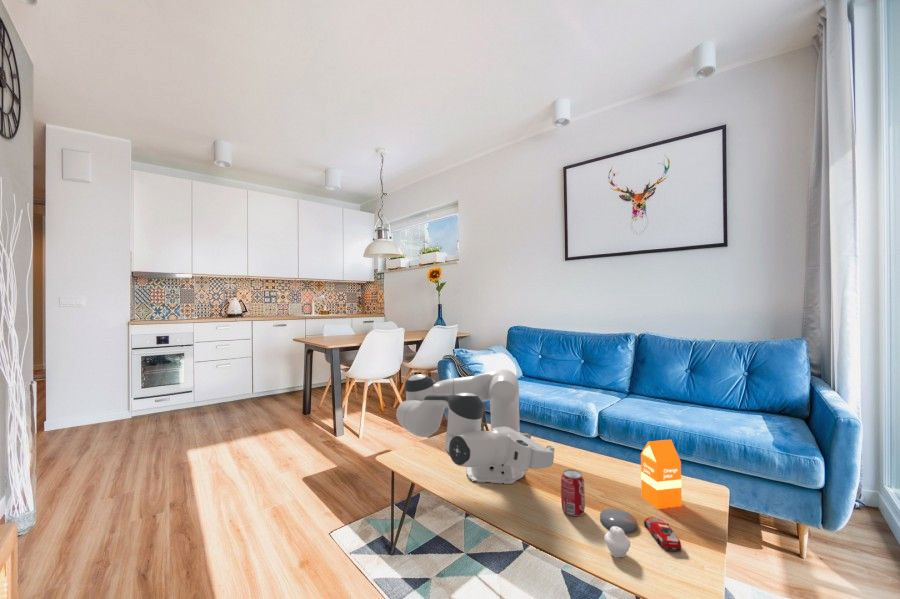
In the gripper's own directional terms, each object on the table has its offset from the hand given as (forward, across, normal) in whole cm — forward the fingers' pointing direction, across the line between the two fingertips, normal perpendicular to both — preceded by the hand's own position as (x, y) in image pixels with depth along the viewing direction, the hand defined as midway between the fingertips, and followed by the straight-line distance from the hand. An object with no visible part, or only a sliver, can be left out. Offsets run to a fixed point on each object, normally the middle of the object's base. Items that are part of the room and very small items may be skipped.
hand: (540, 443), depth 109 cm
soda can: (+18, +2, -22) cm, 29 cm away
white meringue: (+11, +21, -22) cm, 32 cm away
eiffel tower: (+29, -61, -26) cm, 72 cm away
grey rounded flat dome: (+24, +13, -20) cm, 34 cm away
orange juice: (+46, +13, -17) cm, 51 cm away
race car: (+28, +23, -19) cm, 41 cm away
